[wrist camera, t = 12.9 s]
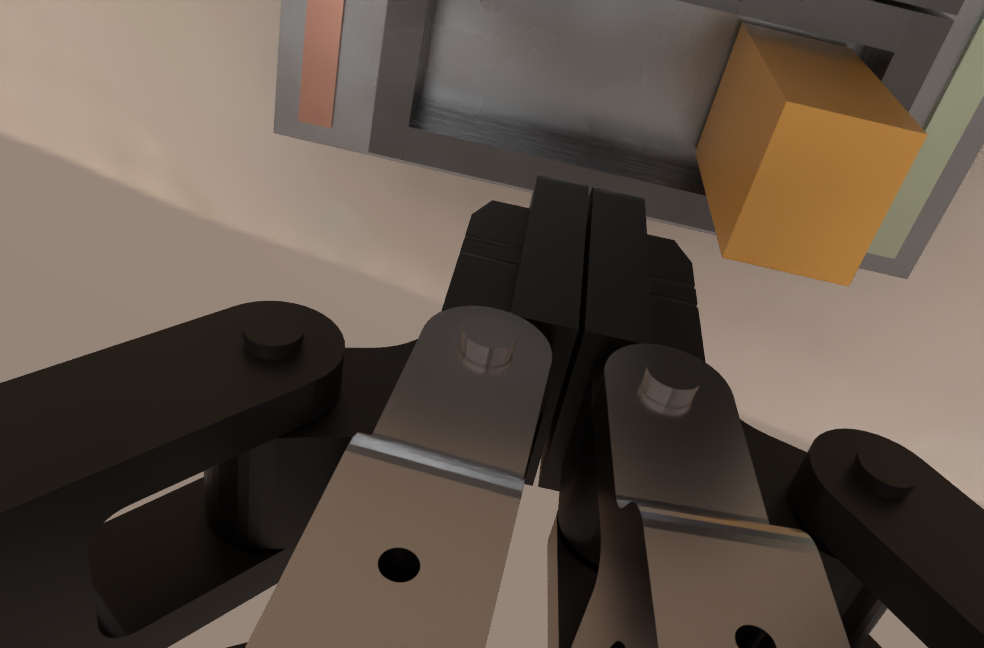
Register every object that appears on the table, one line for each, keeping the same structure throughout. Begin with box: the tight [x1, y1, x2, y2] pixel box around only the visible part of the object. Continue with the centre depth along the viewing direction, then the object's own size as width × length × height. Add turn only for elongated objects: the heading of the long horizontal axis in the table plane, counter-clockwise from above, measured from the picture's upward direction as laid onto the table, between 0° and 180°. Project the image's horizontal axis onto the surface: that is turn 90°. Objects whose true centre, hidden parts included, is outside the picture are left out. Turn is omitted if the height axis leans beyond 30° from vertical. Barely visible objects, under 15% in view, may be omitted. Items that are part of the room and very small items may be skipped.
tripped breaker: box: [695, 22, 928, 286], centre depth 17 cm, size 2×3×5 cm
